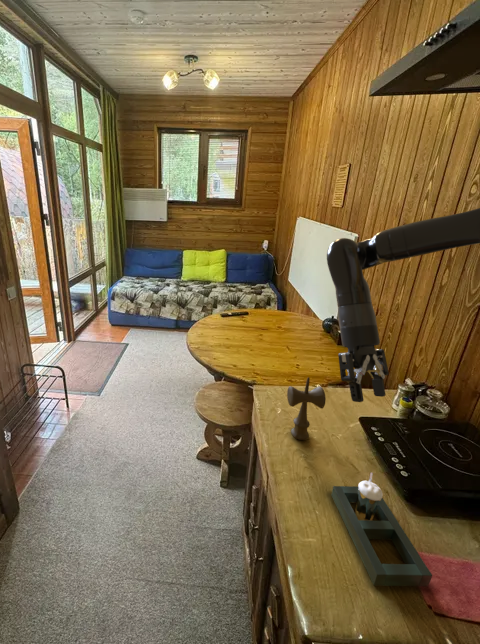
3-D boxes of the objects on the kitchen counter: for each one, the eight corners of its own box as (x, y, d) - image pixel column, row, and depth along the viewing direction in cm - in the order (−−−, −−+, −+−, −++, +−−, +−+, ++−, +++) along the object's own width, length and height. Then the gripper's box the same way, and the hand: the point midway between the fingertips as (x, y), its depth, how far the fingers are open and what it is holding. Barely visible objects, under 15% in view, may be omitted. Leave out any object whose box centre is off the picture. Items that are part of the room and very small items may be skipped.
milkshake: (374, 510, 70) (383, 476, 67) (375, 531, 65) (385, 496, 62) (352, 501, 72) (360, 468, 69) (351, 521, 67) (360, 486, 64)
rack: (372, 496, 73) (375, 486, 72) (428, 586, 56) (432, 575, 55) (331, 495, 73) (333, 485, 72) (373, 585, 56) (377, 574, 55)
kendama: (319, 443, 89) (330, 383, 83) (285, 442, 89) (294, 382, 83) (312, 429, 95) (322, 372, 89) (280, 427, 95) (288, 371, 89)
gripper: (354, 324, 63) (367, 405, 60) (391, 322, 70) (404, 395, 68) (323, 327, 69) (333, 402, 67) (360, 326, 76) (370, 393, 74)
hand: (369, 398), depth 67 cm, fingers open, 8 cm apart
